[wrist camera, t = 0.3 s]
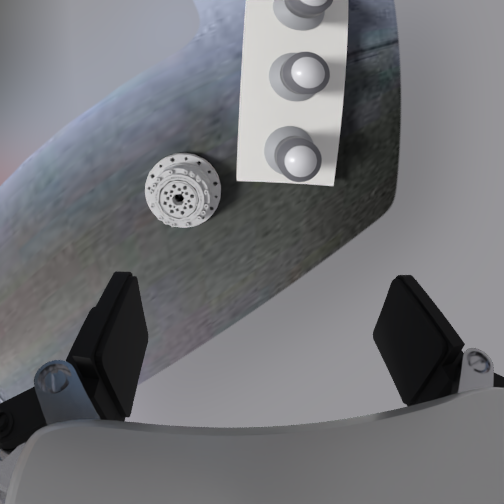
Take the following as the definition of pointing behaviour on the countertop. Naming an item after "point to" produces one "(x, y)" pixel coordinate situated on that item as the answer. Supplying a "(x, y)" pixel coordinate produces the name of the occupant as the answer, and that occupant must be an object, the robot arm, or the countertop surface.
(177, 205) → the mechanical component
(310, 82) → the knob middle
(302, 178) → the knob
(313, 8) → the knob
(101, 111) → the countertop surface
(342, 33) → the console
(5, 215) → the countertop surface
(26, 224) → the countertop surface
